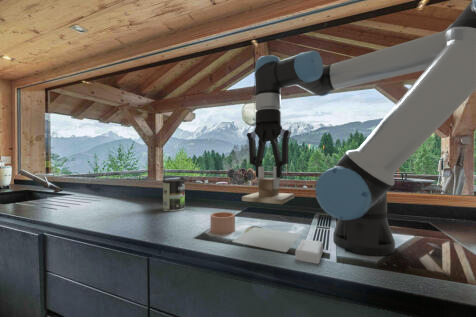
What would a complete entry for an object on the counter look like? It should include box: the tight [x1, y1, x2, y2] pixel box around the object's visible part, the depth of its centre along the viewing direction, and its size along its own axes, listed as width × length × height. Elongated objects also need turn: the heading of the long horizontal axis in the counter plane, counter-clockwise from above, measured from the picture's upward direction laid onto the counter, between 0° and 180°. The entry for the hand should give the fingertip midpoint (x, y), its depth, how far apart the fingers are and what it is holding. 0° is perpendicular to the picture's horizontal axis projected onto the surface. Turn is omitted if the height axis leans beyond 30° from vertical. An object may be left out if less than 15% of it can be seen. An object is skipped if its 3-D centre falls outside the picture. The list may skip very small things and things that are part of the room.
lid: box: [241, 177, 295, 205], centre depth 70 cm, size 12×12×6 cm
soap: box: [294, 238, 324, 264], centre depth 58 cm, size 9×6×3 cm, turn 154°
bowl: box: [210, 211, 236, 235], centre depth 78 cm, size 8×8×6 cm
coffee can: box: [162, 178, 186, 212], centre depth 112 cm, size 10×10×14 cm
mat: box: [231, 226, 302, 253], centre depth 70 cm, size 16×16×1 cm
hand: (268, 188), depth 70 cm, fingers closed on lid, 4 cm apart
